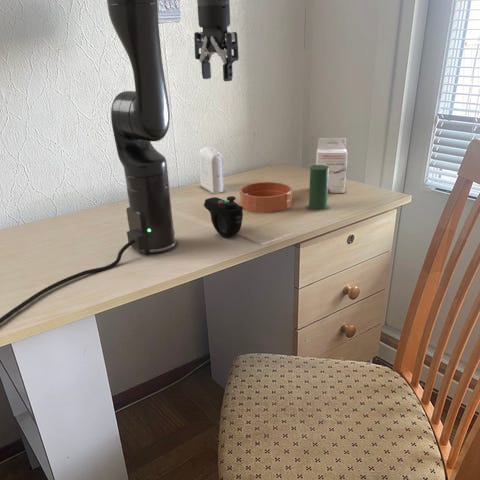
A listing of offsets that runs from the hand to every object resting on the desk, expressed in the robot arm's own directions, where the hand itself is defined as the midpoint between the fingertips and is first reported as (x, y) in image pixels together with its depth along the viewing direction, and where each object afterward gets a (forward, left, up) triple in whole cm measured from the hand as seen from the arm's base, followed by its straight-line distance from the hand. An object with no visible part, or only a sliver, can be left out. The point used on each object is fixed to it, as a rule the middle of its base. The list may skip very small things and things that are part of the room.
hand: (217, 79), depth 128 cm
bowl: (+8, -9, -32) cm, 34 cm away
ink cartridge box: (+30, -13, -32) cm, 46 cm away
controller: (-14, -18, -32) cm, 39 cm away
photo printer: (+7, +14, -32) cm, 36 cm away
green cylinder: (+16, -21, -32) cm, 41 cm away
